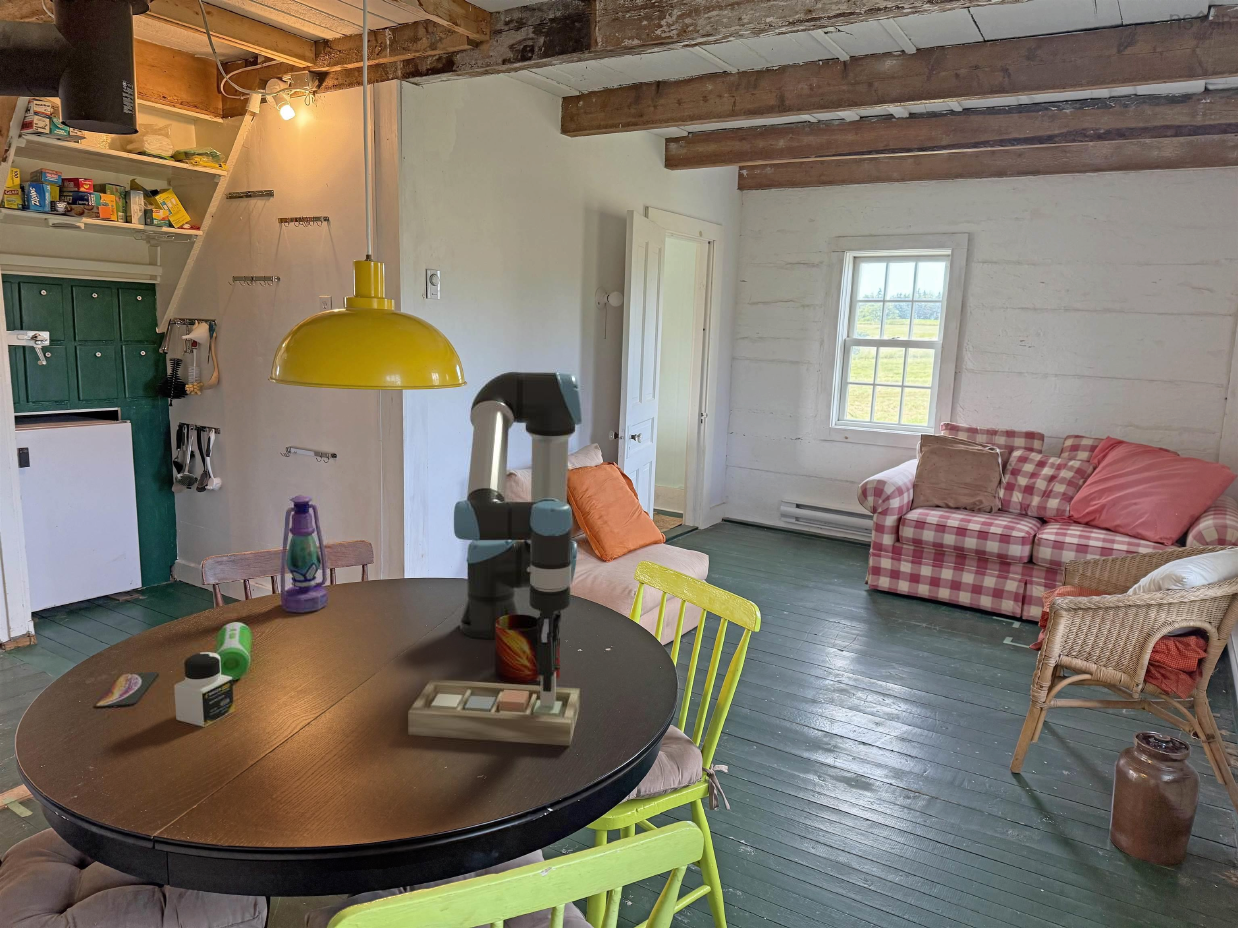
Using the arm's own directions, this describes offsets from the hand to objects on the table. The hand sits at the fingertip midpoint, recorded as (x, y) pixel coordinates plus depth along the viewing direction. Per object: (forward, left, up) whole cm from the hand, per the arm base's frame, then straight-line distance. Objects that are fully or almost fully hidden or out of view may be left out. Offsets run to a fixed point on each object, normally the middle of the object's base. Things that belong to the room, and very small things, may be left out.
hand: (547, 703), depth 154 cm
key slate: (0, -13, -2) cm, 13 cm away
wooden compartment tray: (0, -10, -4) cm, 11 cm away
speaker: (-17, -71, -5) cm, 74 cm away
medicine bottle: (+5, -65, -5) cm, 65 cm away
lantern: (-54, -73, -5) cm, 91 cm away
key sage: (0, 0, -2) cm, 2 cm away
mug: (-22, -8, -5) cm, 23 cm away
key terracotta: (0, -6, -1) cm, 7 cm away
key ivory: (0, -19, -2) cm, 20 cm away
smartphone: (-3, -86, -5) cm, 86 cm away
